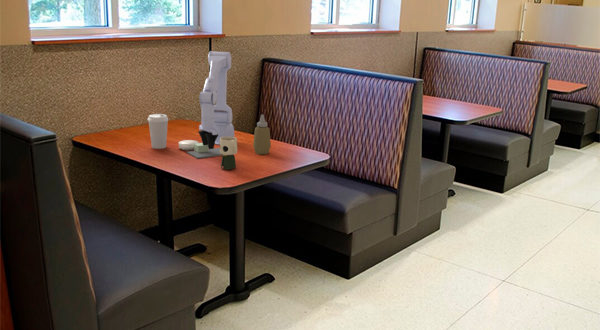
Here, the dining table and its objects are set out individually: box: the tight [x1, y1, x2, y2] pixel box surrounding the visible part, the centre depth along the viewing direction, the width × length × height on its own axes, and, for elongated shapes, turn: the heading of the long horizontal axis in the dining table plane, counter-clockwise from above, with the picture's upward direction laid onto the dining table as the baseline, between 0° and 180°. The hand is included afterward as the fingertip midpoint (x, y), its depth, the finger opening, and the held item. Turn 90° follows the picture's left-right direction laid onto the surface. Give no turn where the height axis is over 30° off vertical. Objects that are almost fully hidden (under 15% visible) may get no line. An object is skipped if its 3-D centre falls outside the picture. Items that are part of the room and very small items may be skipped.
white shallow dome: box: [178, 139, 199, 151], centre depth 279 cm, size 9×9×3 cm
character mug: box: [219, 136, 238, 170], centre depth 248 cm, size 11×7×13 cm, turn 45°
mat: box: [186, 147, 223, 160], centre depth 271 cm, size 16×11×1 cm
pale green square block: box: [193, 142, 209, 153], centre depth 274 cm, size 5×5×3 cm
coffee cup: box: [147, 113, 169, 150], centre depth 278 cm, size 10×10×15 cm
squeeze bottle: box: [252, 114, 272, 155], centre depth 273 cm, size 8×8×18 cm
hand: (208, 147), depth 271 cm, fingers open, 5 cm apart
